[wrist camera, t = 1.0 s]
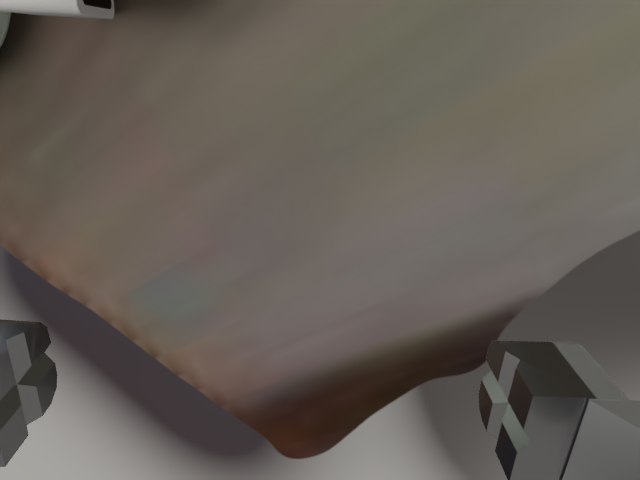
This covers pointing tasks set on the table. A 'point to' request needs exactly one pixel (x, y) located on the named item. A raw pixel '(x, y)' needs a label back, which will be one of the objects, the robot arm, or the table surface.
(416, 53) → the table surface
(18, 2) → the security camera
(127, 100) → the table surface
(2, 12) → the faceted green bowl
